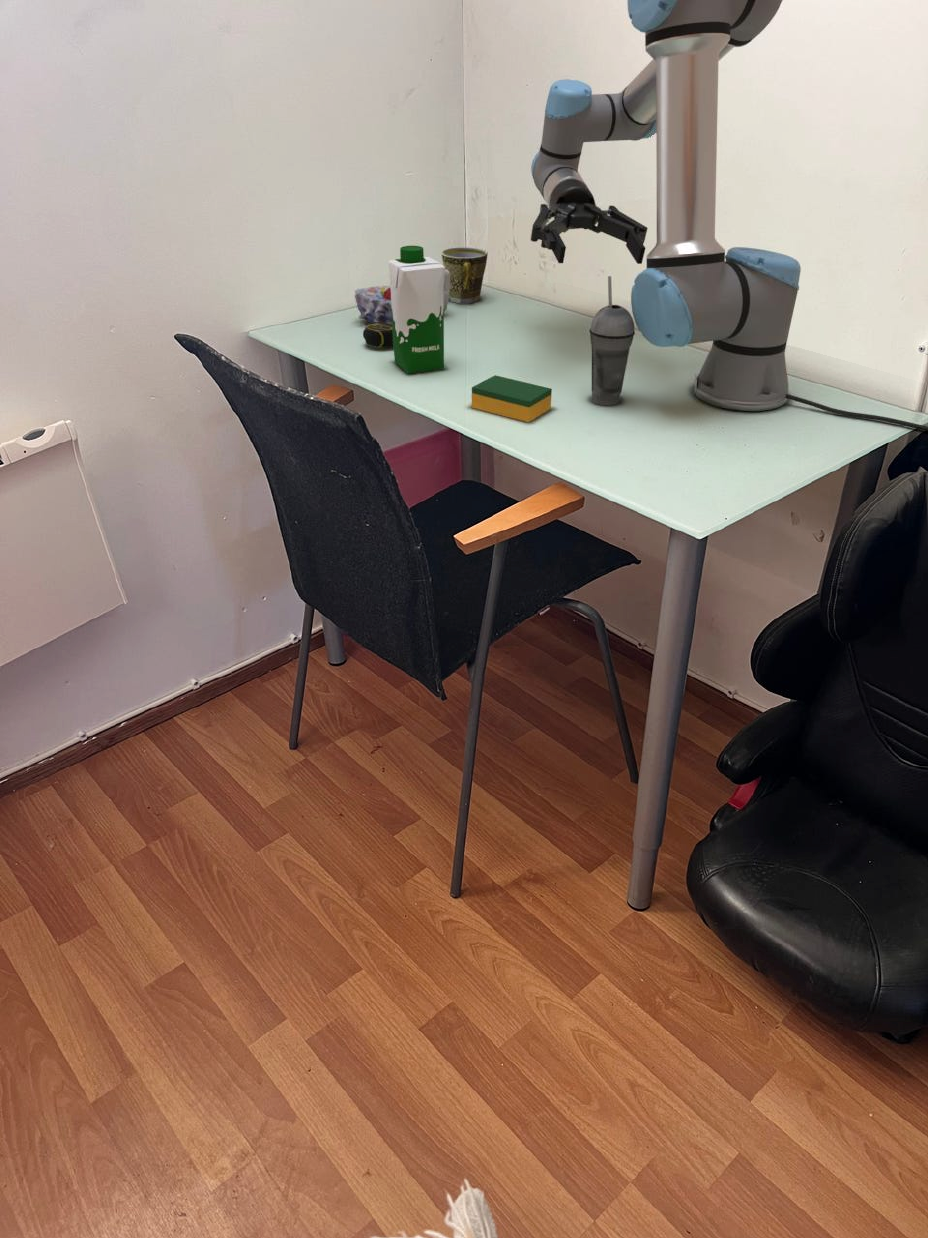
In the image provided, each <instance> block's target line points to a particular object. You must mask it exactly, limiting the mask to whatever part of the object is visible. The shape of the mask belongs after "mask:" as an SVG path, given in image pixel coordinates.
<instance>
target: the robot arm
mask: <svg viewBox="0 0 928 1238" xmlns="http://www.w3.org/2000/svg"><path fill="white" fill-rule="evenodd" d="M783 1H784V0H627V13H628V18H629V19H630V20H631V24H632V26H633V28H634V29H636V30H637V31H639V32H640V33H642V34H643V33H644V38H645V39H644V40H645V41H644V43H645V44H644V47H645V48H644V50H645V52H646V53H647V54H648V55H649V56H650V57H651V59H652V60H651V61H650V62H649V63H648V64H647V65H646V66H645V67H644V68H643V69H642V70H641V71H640V72H639V73H638V74H637V75H636V76H635V77H634V78H633V79H632V80H631V81H630V83H629V84H628V85H627V86H626V87H624V88H623V90H622V91H620V92H618V93H617V92H616V93H599V94H597V93H596V94H595V93H594V94H593V90H592V88H591V86H590V85H589V84H587V83H586V82H584V81H581V80H578V79H570V78H569V79H568V78H565V79H564V78H563V79H559V80H556V81H554V82H553V83H552V84H551V86H550V87H549V90H548V95H547V99H546V103H545V107H544V119H543V125H542V126H543V127H542V136H541V143H540V147H539V151H537V153H536V154H535V156H534V157H533V159H532V161H531V165H530V166H531V167H530V171H531V172H530V173H531V176H532V180H533V183H534V186H535V187H536V189H537V190H538V191H539V193H540V195H541V197H542V198H543V200H544V202H545V203H541V204H540V206H539V213H538V215H537V217H536V219H535V220H534V222H533V224H532V228H531V234H530V241H531V242H533V243H535V242H538V241H541V243H540V246H541V248H543V249H547V250H549V251H550V250H551V251H552V253H553V255H554V257H555V259H556V262H557V263H558V264H564V260H565V255H566V250H567V246H566V245H565V242H564V241H563V239H562V237H561V234H562V233H564V234H565V233H567V232H568V231H569V230H578V229H582V230H589V231H592V232H594V233H596V234H600V233H603V234H606V235H608V236H609V237H613V238H615V239H617V240H620V241H622V242H623V243H624V242H625V247H626V249H627V250H628V252H629V253H630V254H631V257H632V258H633V259H634V261H635V263H636V264H637V265H642V264H643V261H644V260H643V259H644V256H645V253H646V246H645V245H644V244H645V242H646V236H647V233H648V227H647V226H646V225H643V224H642V223H641V222H638V221H637V220H635V219H634V218H632V217H630V216H629V215H627V214H625V213H623V212H622V211H620V210H619V209H618V208H617V207H616V206H615V205H609V206H608V209H605V210H602V209H601V208H600V207H599V206H597V204H596V200H595V197H594V195H593V193H592V191H591V190H590V189H589V187H588V185H587V184H586V182H585V181H584V179H583V177H582V175H581V174H580V173H579V164H580V160H581V155H582V151H583V146H584V143H595V142H613V141H614V142H616V141H634V142H635V141H636V142H637V141H640V140H643V139H650V138H652V137H653V136H652V135H654V134H655V133H656V134H655V135H656V136H655V135H654V136H655V137H656V139H655V140H656V146H655V147H656V154H655V155H656V166H655V167H656V243H655V245H654V247H653V248H652V249H651V250H650V251H649V252H648V254H647V255H646V268H645V269H643V270H642V271H641V272H639V273H638V274H637V275H636V277H635V278H634V281H633V282H634V284H633V285H632V287H631V293H630V305H631V311H632V317H633V320H634V323H635V325H636V327H637V329H638V331H640V333H641V335H642V336H643V338H644V339H645V340H646V341H647V342H649V343H650V344H651V345H653V346H655V347H660V348H667V347H669V348H670V347H678V348H682V347H685V346H687V345H693V344H699V343H701V344H702V343H708V342H712V346H711V348H710V350H709V352H708V354H707V356H706V358H705V360H704V362H703V364H702V366H701V368H700V369H699V371H698V374H697V373H695V375H694V390H693V391H694V394H695V396H696V397H697V398H698V399H699V400H701V401H703V402H705V403H707V404H709V405H712V406H714V407H717V408H723V409H725V410H733V411H741V412H742V411H743V412H762V411H763V412H764V411H770V410H774V409H777V408H780V407H782V406H783V405H784V404H786V403H787V400H791V401H793V402H798V403H801V404H804V405H807V406H810V407H814V408H817V409H820V410H822V411H826V412H829V413H832V414H836V415H841V416H846V417H853V418H860V419H867V420H872V421H873V420H874V421H880V422H884V423H890V424H895V425H898V426H899V425H900V426H904V427H908V428H912V429H917V430H920V431H926V432H928V426H927V425H923V424H918V423H914V422H910V421H906V420H901V419H896V418H892V417H887V416H883V415H875V414H870V413H869V414H868V413H862V412H861V413H860V412H854V411H847V410H844V409H843V410H842V409H838V408H834V407H831V406H827V405H824V404H821V403H818V402H815V401H812V400H810V399H805V398H803V397H798V396H796V395H792V394H789V380H788V372H787V364H786V355H785V354H786V348H787V344H788V343H787V342H788V339H789V333H790V328H791V324H792V320H793V315H794V310H795V305H796V302H797V301H796V300H797V296H798V292H799V290H800V286H799V283H800V277H801V271H802V268H801V264H800V262H799V261H798V260H797V259H796V258H794V257H792V256H790V255H787V254H783V253H780V252H776V251H771V250H766V249H762V248H761V249H760V248H753V247H746V246H745V247H744V246H743V247H742V246H733V247H730V248H729V249H728V250H727V251H726V249H725V248H724V247H723V245H721V244H720V243H719V242H718V240H717V239H716V204H717V203H716V202H717V201H716V199H717V197H716V196H717V157H718V155H717V153H718V151H717V150H718V147H717V146H718V105H719V62H720V61H721V60H722V59H723V58H724V57H725V56H726V55H727V54H729V52H731V51H732V50H733V49H734V48H741V47H744V46H746V45H748V44H749V43H751V42H752V41H753V40H754V39H755V38H756V37H758V36H759V35H760V34H761V33H762V32H763V31H764V30H765V29H766V28H767V27H768V25H769V24H770V23H771V22H772V20H773V19H774V17H775V16H776V15H777V13H778V11H779V9H780V7H781V5H782V3H783ZM651 136H652V137H651ZM649 137H650V138H649ZM552 218H553V220H551V219H552ZM550 220H551V221H550Z"/></svg>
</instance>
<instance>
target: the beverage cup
mask: <svg viewBox="0 0 928 1238" xmlns="http://www.w3.org/2000/svg"><path fill="white" fill-rule="evenodd" d="M612 293H613V291H612V276H611V275H609V276H607V295H608V297H607V298H608V301H607V302H608V305H606V306H603V307H602V308H601V309H599V310H598V311H597V313H595V315H594V317H593V319H592V320H591V323H590V328H589V330H588V331H589V338H590V345H591V401H592V402H593V403H594V404H596V405H600V406H614V405H617V404H619V402H620V398H621V393H622V391H623V385H624V379H625V375H626V371H627V364H628V359H629V354H630V349H631V346H632V343H633V340H634V336H635V335H636V333H635V332H636V331H635V321H634V318H633V315H632V314H631V313H630V311H629V310H627V308H625V307H624V306H622V305H618V304H613V297H612V296H613V294H612Z"/></svg>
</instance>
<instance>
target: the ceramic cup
mask: <svg viewBox="0 0 928 1238" xmlns="http://www.w3.org/2000/svg"><path fill="white" fill-rule="evenodd" d="M488 254H489V253H488V251H487V250H485V249H482V248H479V247H472V246H471V247H469V246H462V247H461V246H459V247H450V248H446V249H444V250H441V260H442V265H443V266H444V267H445V269H446V270H448V271H449V272H450V294H449V300H450V302H452V303H456V304H460V305H466V304H473V303H474V304H475V303H476V302H479V301H480V298H481V292H482V287H483V282H484V275H485V272H486V266H487V260H488Z"/></svg>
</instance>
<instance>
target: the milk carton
mask: <svg viewBox="0 0 928 1238" xmlns="http://www.w3.org/2000/svg"><path fill="white" fill-rule="evenodd" d="M399 252H400V253H399V257H400V258H396V259H390V260H388V268H389V282H390V284H389V285H391V308H392V332H393V346H392V347H393V357H394V363H395V364H396V365H397V366H399V367H400V368H401V369H402V370H403V371H404V372H405V373H406V374H408V375H411V374H418V373H426V372H432V371H439V370H444V369H445V317H444V316H445V314H444V313H445V311H444V295H443V286H444V274H445V267H444V266H443V264H441V262H440V261H437V260H435V259H434V258H432V257H430V256H424V252H425V251H424V247H423V246H420V245H404V246H401V247H400V248H399Z"/></svg>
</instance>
